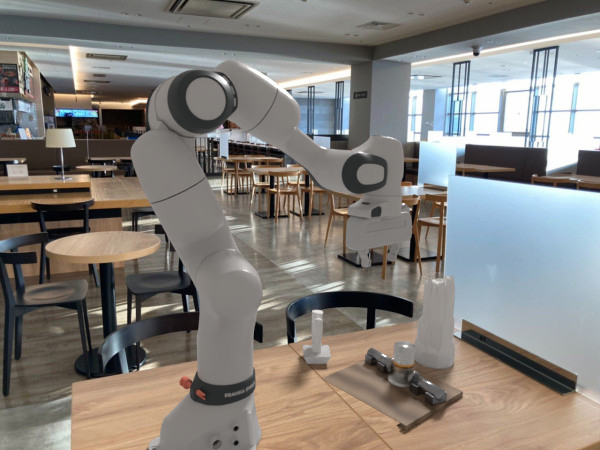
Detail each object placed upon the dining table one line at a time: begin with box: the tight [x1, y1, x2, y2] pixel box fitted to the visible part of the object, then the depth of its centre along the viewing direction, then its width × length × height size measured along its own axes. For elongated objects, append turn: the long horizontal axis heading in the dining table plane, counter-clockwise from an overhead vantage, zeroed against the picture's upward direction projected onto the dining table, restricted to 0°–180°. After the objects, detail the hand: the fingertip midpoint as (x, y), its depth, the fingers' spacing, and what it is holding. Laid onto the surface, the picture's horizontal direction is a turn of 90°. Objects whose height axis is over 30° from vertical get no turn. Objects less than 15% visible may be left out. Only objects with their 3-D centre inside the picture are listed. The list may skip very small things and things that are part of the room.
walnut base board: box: [321, 359, 464, 431], centre depth 118 cm, size 22×26×2 cm
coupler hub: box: [392, 340, 415, 384], centre depth 120 cm, size 5×5×9 cm
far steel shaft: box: [364, 347, 393, 374], centre depth 127 cm, size 9×4×4 cm, turn 31°
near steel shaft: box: [407, 370, 447, 406], centre depth 113 cm, size 9×4×4 cm, turn 31°
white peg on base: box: [302, 309, 332, 365], centre depth 130 cm, size 7×9×15 cm
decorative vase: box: [413, 275, 456, 370], centre depth 132 cm, size 11×11×25 cm
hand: (379, 263), depth 116 cm, fingers open, 8 cm apart
